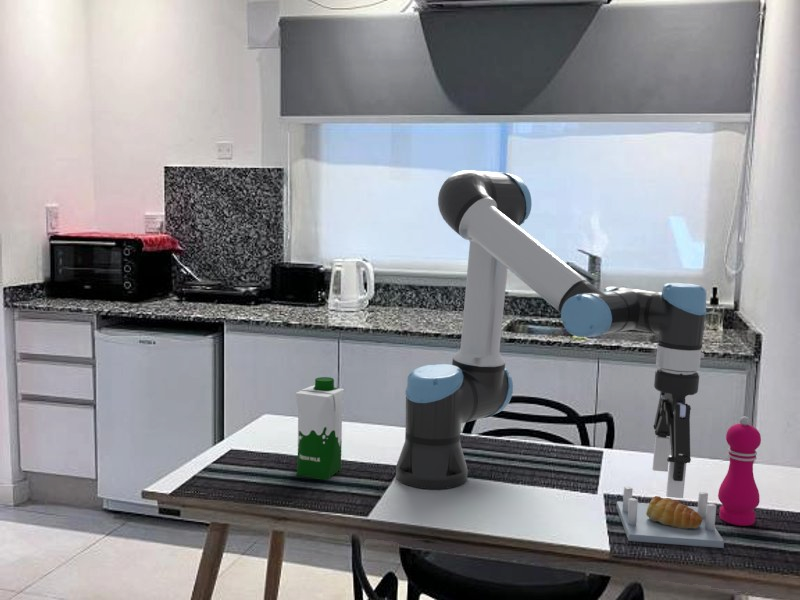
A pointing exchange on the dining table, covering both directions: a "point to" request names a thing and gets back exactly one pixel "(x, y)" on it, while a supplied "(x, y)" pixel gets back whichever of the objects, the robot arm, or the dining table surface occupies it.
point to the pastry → (673, 513)
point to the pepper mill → (740, 475)
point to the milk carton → (319, 429)
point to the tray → (656, 532)
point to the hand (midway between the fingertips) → (667, 483)
